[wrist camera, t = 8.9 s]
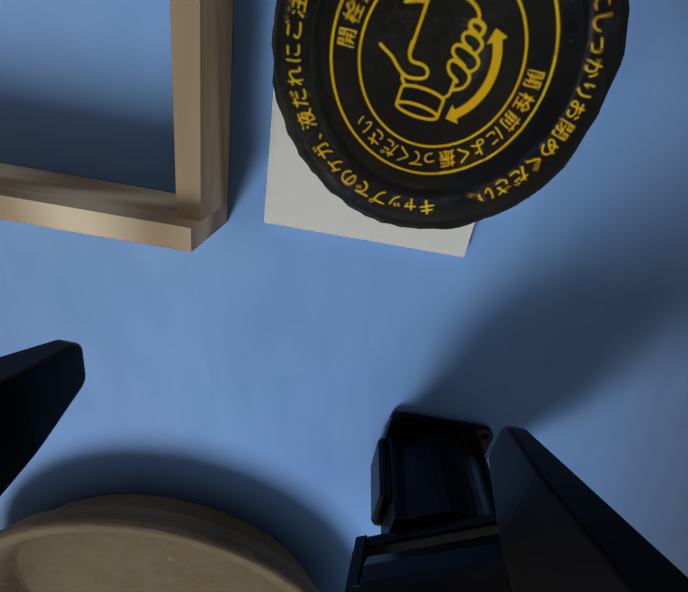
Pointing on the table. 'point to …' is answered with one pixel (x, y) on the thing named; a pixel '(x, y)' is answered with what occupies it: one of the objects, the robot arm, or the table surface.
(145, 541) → the plant saucer
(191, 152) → the pine frame
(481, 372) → the table surface
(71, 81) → the table surface
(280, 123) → the grey mat
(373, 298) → the table surface
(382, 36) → the condiment
